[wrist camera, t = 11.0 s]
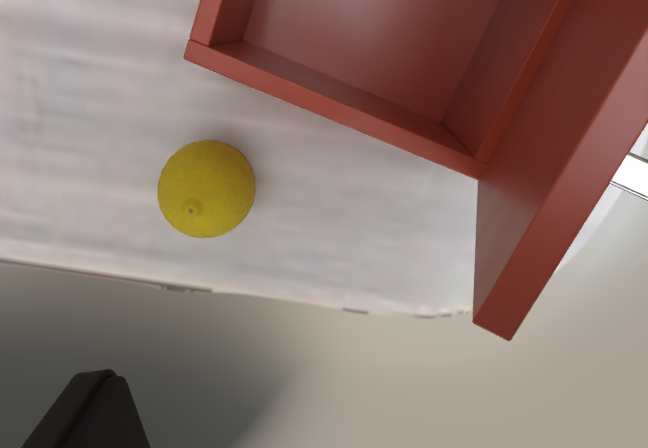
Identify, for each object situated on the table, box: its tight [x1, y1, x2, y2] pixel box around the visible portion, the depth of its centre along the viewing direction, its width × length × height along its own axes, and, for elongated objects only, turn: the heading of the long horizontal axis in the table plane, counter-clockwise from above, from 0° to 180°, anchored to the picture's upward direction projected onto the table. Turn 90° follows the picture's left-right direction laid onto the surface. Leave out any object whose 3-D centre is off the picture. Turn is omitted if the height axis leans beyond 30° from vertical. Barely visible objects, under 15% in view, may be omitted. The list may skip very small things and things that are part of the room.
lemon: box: [158, 140, 256, 238], centre depth 32 cm, size 6×6×8 cm
